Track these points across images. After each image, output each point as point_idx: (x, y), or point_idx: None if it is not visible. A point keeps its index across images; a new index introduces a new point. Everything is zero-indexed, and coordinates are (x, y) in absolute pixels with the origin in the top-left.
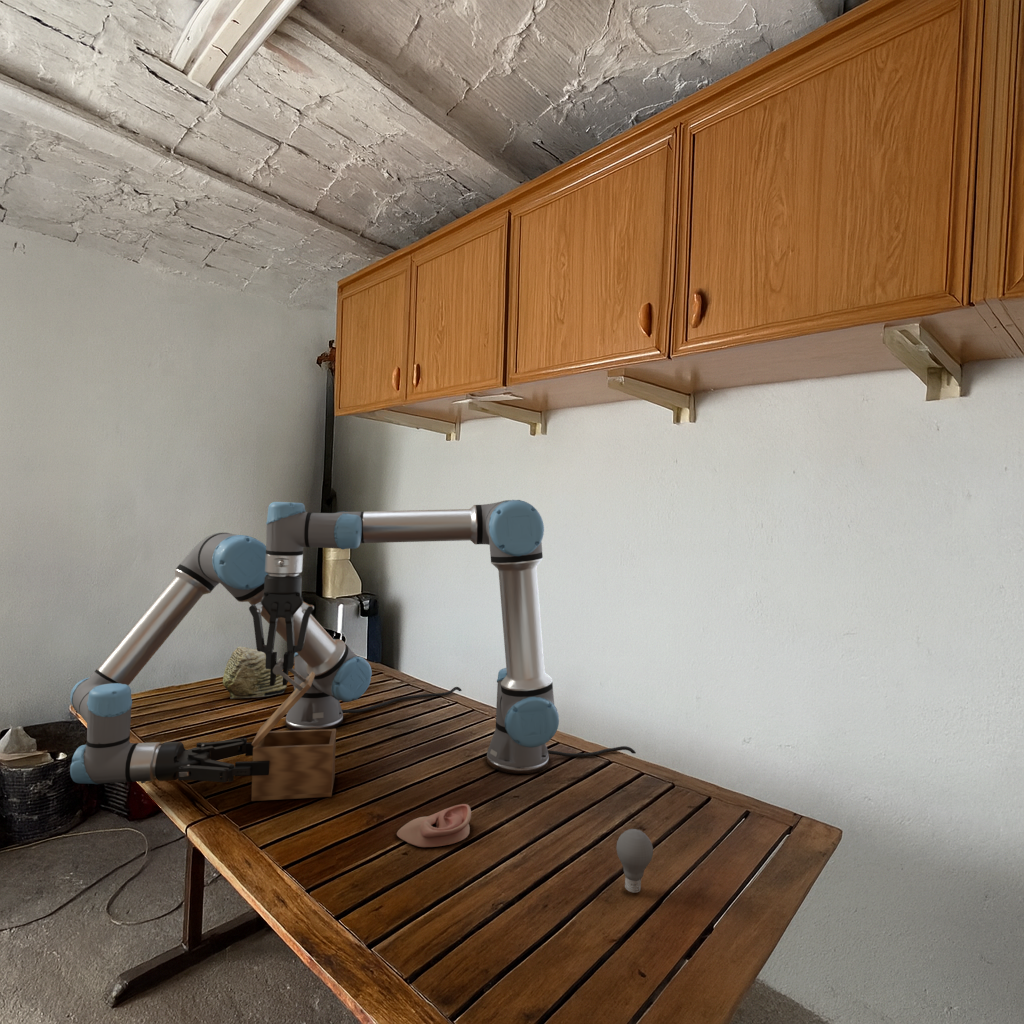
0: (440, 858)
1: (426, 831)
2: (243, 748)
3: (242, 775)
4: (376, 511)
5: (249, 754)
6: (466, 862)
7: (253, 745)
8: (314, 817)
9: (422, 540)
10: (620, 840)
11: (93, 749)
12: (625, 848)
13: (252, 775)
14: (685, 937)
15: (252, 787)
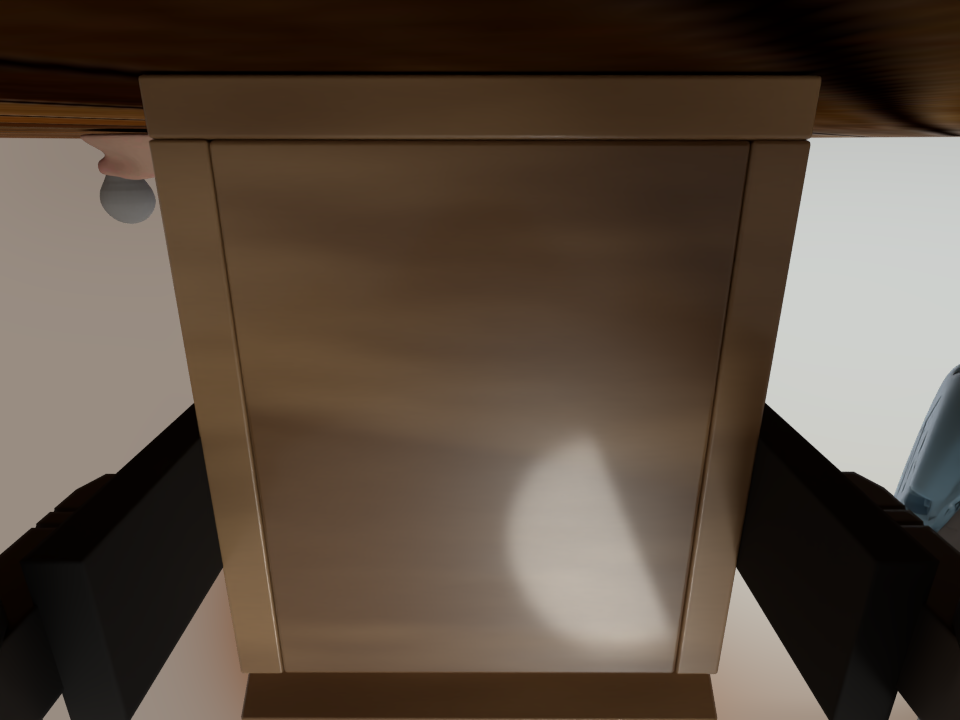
0: (60, 131)
1: (105, 174)
2: (946, 691)
3: (97, 500)
4: None
5: (836, 538)
6: (75, 132)
7: (248, 694)
8: (111, 116)
9: None
10: (120, 213)
11: None
12: (106, 209)
13: (164, 433)
14: (41, 137)
15: (173, 276)
